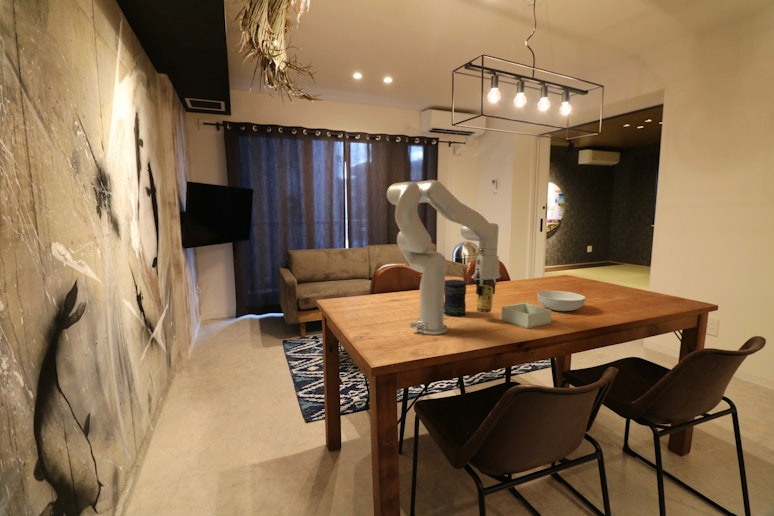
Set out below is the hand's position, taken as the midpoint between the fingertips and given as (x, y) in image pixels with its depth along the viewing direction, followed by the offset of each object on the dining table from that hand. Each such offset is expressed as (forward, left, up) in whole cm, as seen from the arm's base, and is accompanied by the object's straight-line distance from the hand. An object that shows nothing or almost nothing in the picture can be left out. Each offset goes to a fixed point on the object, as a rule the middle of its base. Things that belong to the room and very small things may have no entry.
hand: (485, 293), depth 159 cm
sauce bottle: (0, 0, -8) cm, 8 cm away
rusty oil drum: (-5, +14, -12) cm, 19 cm away
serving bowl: (+44, -4, -12) cm, 46 cm away
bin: (+14, -10, -12) cm, 21 cm away
